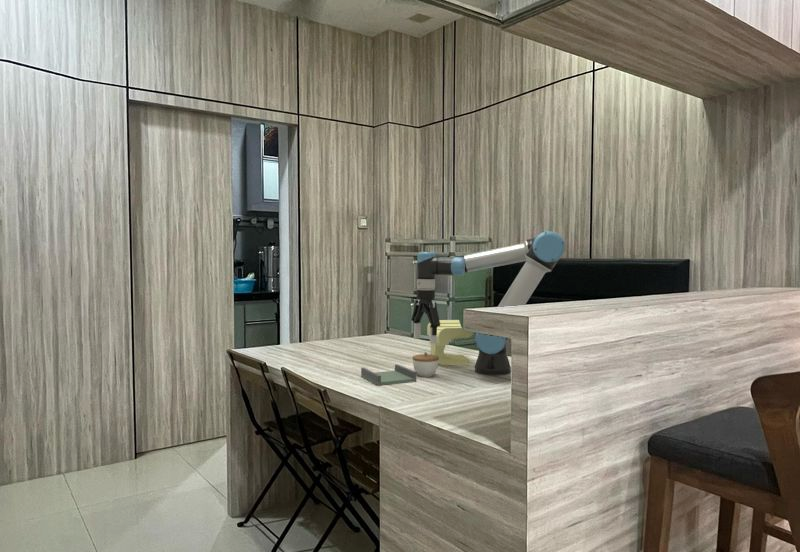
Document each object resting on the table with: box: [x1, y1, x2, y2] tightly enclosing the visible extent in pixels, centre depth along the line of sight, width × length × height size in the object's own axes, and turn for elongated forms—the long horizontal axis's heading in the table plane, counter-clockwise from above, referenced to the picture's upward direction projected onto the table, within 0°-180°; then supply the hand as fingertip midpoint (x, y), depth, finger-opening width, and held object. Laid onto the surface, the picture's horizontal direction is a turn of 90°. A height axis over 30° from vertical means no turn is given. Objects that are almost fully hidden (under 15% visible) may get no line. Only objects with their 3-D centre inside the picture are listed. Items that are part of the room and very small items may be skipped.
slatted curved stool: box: [426, 319, 475, 366], centre depth 249 cm, size 30×16×18 cm, turn 7°
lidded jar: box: [412, 352, 439, 378], centre depth 220 cm, size 11×11×9 cm
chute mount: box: [360, 363, 417, 387], centre depth 213 cm, size 16×17×4 cm
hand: (424, 340), depth 220 cm, fingers open, 13 cm apart
